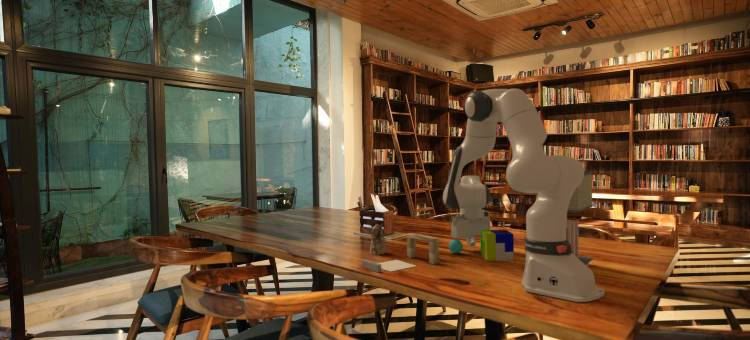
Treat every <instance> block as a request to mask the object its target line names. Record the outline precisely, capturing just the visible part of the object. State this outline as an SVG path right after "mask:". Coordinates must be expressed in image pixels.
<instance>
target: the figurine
mask: <svg viewBox="0 0 750 340" xmlns="http://www.w3.org/2000/svg"><path fill="white" fill-rule="evenodd" d="M383 226H384V224H383V223H381V224H380V225H379V224H375V225H374V226H373V227H371V228H372V230H371V234H370V236H369V237H370V238H371V240H370V248H369V254H370V253H371V254H370V255H373V254H377V255H376V256H380V255H379V254H383V255H386V254H387V251H388V247H387V242H386V238H385V230H384V228H383ZM385 253H386V254H385Z"/></svg>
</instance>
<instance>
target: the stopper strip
mask: <svg viewBox="0 0 750 340" xmlns="http://www.w3.org/2000/svg"><path fill="white" fill-rule="evenodd" d="M378 263H379V262H375V261H372V260H369V259H366V258H365V259H362V260H361V267H362V268H365V269H368V270H370V271H371V272H375V273H382V269H381V264H378Z"/></svg>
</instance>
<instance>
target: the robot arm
mask: <svg viewBox="0 0 750 340" xmlns="http://www.w3.org/2000/svg"><path fill="white" fill-rule="evenodd" d="M463 106H464V107H463V108H464V111H465V115H466V117H467V122H466V129H465V130H466V131H465V137H464V139H463V142H462V143H461V144H460V145H459V146H457V147H456V149H455V151H454V154H453V157H452V160H451V164H450V167H449V168H450V169H449V173H448V176H447V181H446V184H445V188H444V190H443V194H442V202H443V205H444V206H445V207H446V208H448V209H449V210H451V211H453V210H459V214H457V215H455V216H453V218H452V223H451V230H450V235H451V237H452V238H455V239H462V238H463V239H465V241H466V243H467V244H466V245H467V247H468V248H472V247H475V246H476V241H477V239H478V236H479V235H480V236H481V230H491V219H490V216H491V212H490V211H488V210H485V209H484V208H486V207H487V206H489V204H490V203H491V190H490V188H489V187H488V186H487V185H486V184H483V183H482V182H481V177H480V176H479V175H476V174H467V175H463V176H462V172H463V169H464V167H465V166H466V165H467V164H468V163H471V162H472V161H475V160H478V159H481V158H483V157H485V156H487V155H488V154H490V153H491V152H492V150H493V149H494V148H495V146H496V145H495V144H496V138H497V125H498V122H500V121H501V124H502V126H503V129H504V132H505V133H506V136H507V138H508V141H509V144H510V146H511V151H512V153H511V154H512V158H511V161H510V162H509V163H508V165H507V167H506V171H505V172H506V173H505V178H506V181H507V184H508V186H509V188H511V189H512V190H513V191H516V192H521V193H525V194H536V193H538V196H537V199H536V198H535V202H534V203H533V204H532V205H531V206H530V207H529V208H528V210H527V211H526V214H525V229H526V230H525V231H526V237H524V251H525V263H524V271H523V274H522V279H521V282H520V284H521V286H523V288H524V292H529V293H533V294H537V295H542V296H546V297H552V298H557V299H562V300H565V301H571V302H575V303H586V302H592V301H595V300H599V299H601V298H603V297H604V296H605V294H606V293H605V289H604V288H602V287H599V286H597V285H596V279H595V275H594V272H593V270H592V269H591V268H589V267H588V266H586V265H585V264H584V263H582V262H581V261H580V260H579V259H578V258H577V257H576V256H575V255H573V254H572V250H571V248H574V247H573V246H574V245H575V244H570V243H569V242H568V240H567V239H566V218H567V219H568V212H567V210H568V206H569V203H570V200H571V197H572V195H573V193H574V191H575V189H576V188H577V187H578V186H579V185H580V184H581V182H582V181H583V178H584V173H585V171H584V170H585V169H584V167H583V164H582V163H581V162H580V161H579V160H578V159H577V158H574V157H571V156H567V155H561V154H559V155H558V154H557V155H556V154H555V155H547V154H546V153H545V151H544V147H543V144H544V143H545V141H546V139H547V137H548V132H547V128H546V127H545V125H544V123H543V121H542V119H541V117H540V115H539V112H538V110H537V108H536V107H535V105H534V103H533V102H532V100H531V98H529V96H528V95H527V93H526V92H525V91H524V90H522V89H520V88H492V89H491V88H490V89H485V90H476V91H473V92H470V93H469V94H467V96H466V98H465V101H464V105H463ZM461 176H462V177H461Z"/></svg>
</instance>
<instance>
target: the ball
mask: <svg viewBox="0 0 750 340" xmlns="http://www.w3.org/2000/svg"><path fill="white" fill-rule="evenodd" d="M448 248H449V251H450V252H451V253H452V254H460V253H461V252H462V251H463V242H461V241H460V240H459V239H452V240H450V241H449V244H448Z"/></svg>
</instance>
